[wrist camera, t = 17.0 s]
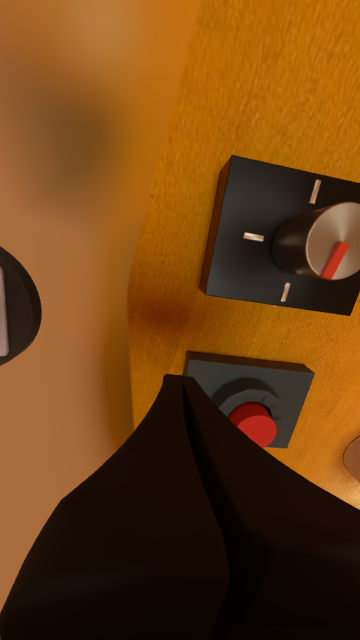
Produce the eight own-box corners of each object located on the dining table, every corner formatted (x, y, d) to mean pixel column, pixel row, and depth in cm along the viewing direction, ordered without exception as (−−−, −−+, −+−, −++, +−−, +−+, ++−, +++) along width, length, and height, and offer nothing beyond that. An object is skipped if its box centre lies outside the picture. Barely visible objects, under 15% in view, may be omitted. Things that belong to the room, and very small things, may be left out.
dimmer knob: (287, 204, 15) (335, 186, 11) (336, 227, 15) (398, 218, 11) (261, 262, 16) (295, 266, 12) (308, 281, 16) (356, 291, 12)
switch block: (173, 427, 23) (175, 457, 20) (187, 351, 21) (191, 369, 17) (278, 435, 25) (296, 464, 21) (304, 364, 22) (328, 384, 19)
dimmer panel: (198, 288, 19) (205, 295, 16) (219, 171, 17) (232, 153, 14) (324, 307, 20) (351, 316, 17) (361, 201, 18) (401, 190, 15)
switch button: (224, 432, 20) (229, 449, 18) (233, 399, 19) (239, 413, 17) (261, 435, 20) (270, 451, 19) (271, 403, 19) (282, 417, 18)
